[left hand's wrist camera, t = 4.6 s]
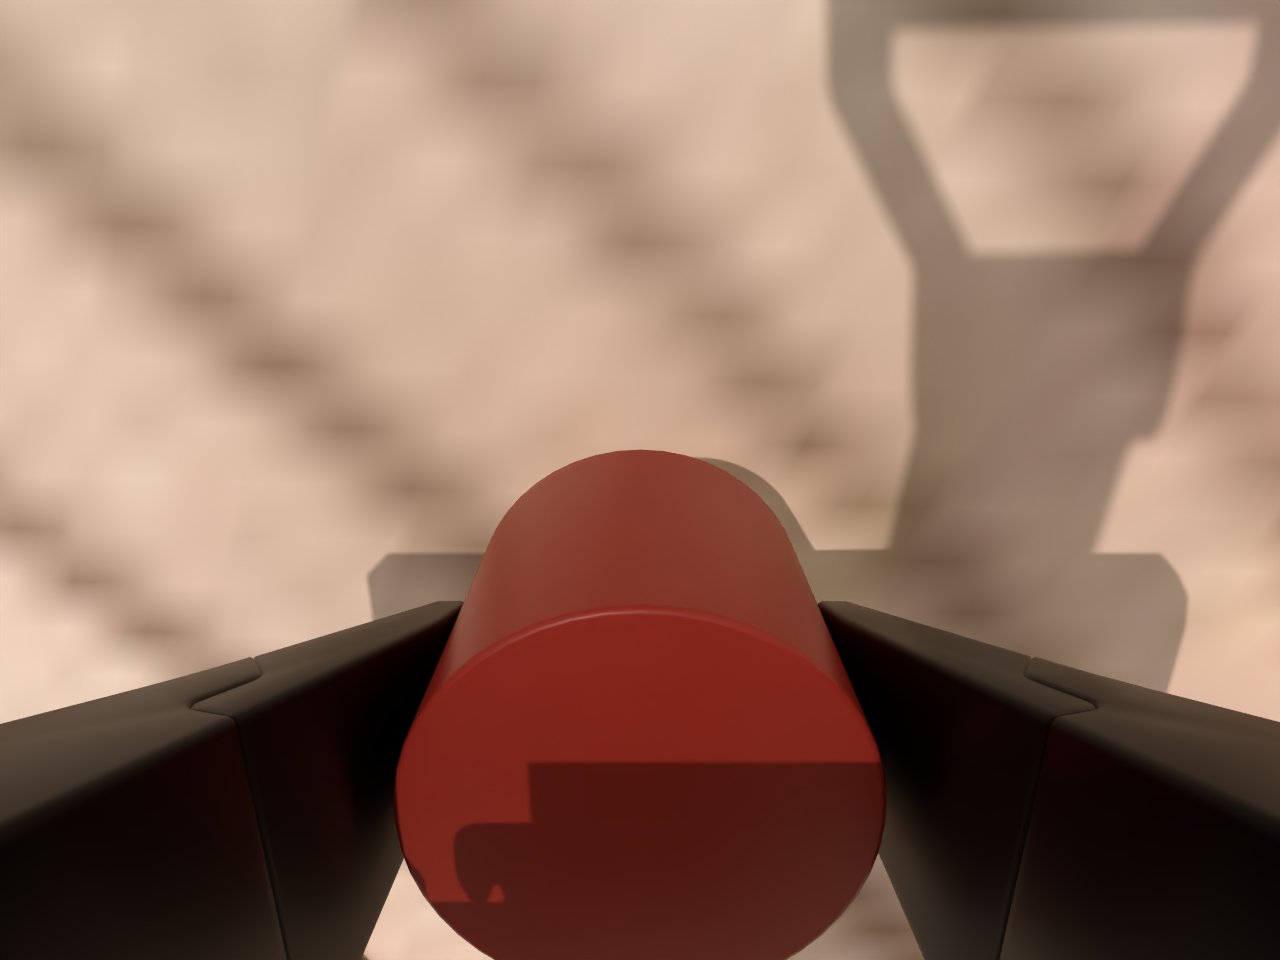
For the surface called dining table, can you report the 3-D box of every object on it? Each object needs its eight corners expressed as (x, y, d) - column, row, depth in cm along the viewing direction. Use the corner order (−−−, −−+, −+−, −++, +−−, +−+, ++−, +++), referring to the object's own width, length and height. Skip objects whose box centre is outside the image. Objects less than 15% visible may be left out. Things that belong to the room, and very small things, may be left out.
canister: (612, 780, 13) (600, 1062, 9) (413, 573, 12) (285, 790, 8) (861, 625, 12) (980, 862, 8) (672, 379, 11) (694, 504, 7)
